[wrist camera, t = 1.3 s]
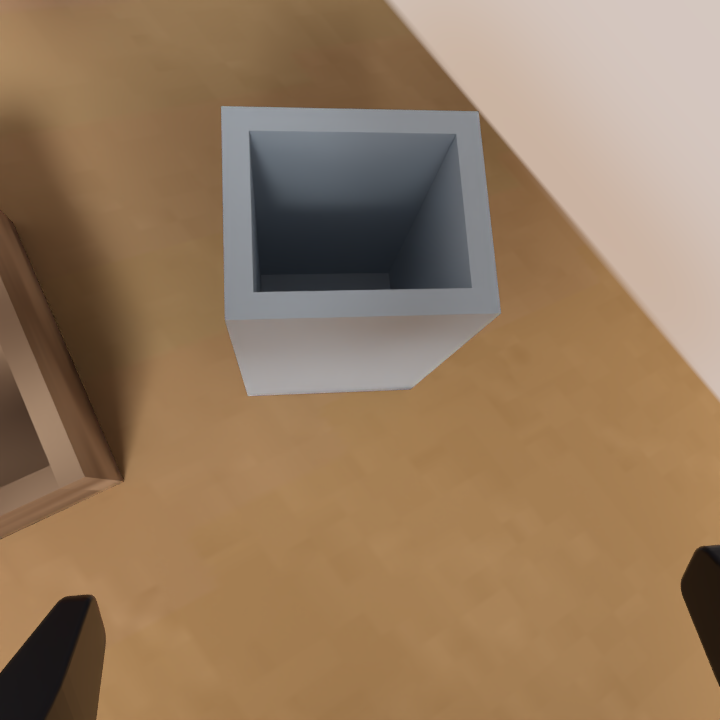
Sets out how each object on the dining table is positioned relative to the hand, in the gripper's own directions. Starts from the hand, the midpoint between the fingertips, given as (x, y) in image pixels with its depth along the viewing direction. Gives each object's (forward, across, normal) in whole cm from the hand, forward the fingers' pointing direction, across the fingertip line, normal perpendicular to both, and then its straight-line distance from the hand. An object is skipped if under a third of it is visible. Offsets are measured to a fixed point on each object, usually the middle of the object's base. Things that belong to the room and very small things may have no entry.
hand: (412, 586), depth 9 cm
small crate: (+15, 0, +4) cm, 15 cm away
